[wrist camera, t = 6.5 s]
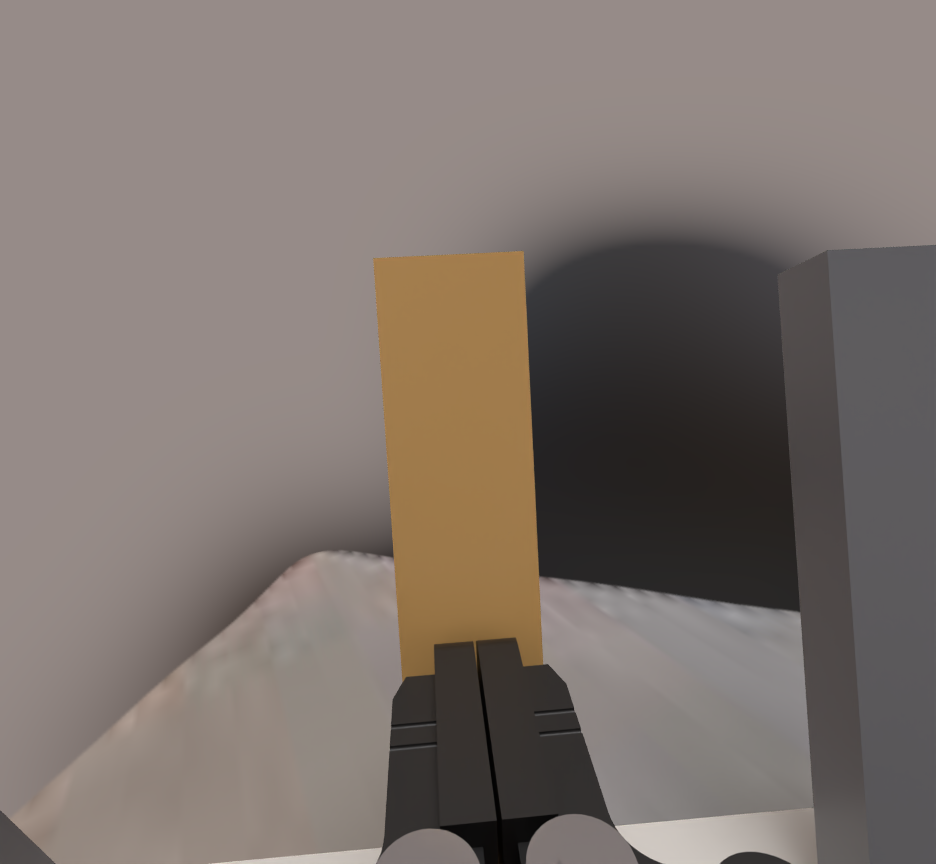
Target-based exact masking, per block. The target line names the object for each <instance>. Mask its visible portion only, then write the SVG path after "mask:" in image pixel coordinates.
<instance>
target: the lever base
mask: <svg viewBox="0 0 936 864" xmlns="http://www.w3.org/2000/svg"><path fill="white" fill-rule="evenodd" d="M615 827H616V829H617V830H618V832H619V833H620V834H621V835H622V836H623V837H624V839H625V840H626V841H627V842H628V843H629V844H630V845H631V846H633V847H634V848H635V849H637V850H638V851H639V852H641V853H642V854H644V855H646V856H647V857H649V858H651V859H653V860H655V861H658V862H660V863H663V864H720V863H721V862H722V861H723V860H724V859H726V858H727V857H729V856H731V855H734V854H736V853H741V852H760V853H766V854H769V855H773V856H776V857H778V858H781V859H783V860H785V861H787V862H789V863H791V864H818V861H817V847H816V832H815V817H814V808H804V809H793V810H782V811H771V812H761V813H750V814H739V815H729V816H718V817H707V818H696V819H686V820H675V821H664V822H653V823H643V824H632V825H621V826H615ZM381 850H382V848H374V849H363V850H353V851H342V852H331V853H320V854H310V855H299V856H288V857H278V858H267V859H256V860H245V861H235V862H224V863H213V864H376V863H377V860H378V858H379V856H380V854H381Z"/></svg>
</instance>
